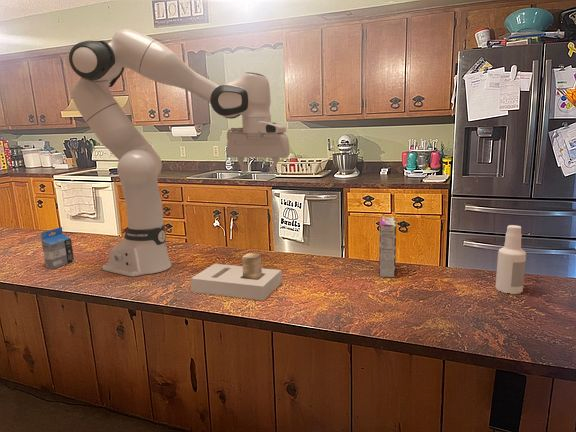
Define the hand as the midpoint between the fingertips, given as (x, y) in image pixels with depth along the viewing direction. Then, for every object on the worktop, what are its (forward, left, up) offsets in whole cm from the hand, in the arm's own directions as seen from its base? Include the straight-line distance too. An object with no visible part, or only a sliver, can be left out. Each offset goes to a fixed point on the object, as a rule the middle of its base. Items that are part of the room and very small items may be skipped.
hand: (258, 172), depth 142 cm
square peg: (+6, -20, -31) cm, 37 cm away
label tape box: (-67, -18, -31) cm, 76 cm away
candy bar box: (+40, +6, -31) cm, 51 cm away
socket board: (+1, -20, -31) cm, 37 cm away
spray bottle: (+74, 0, -31) cm, 80 cm away
